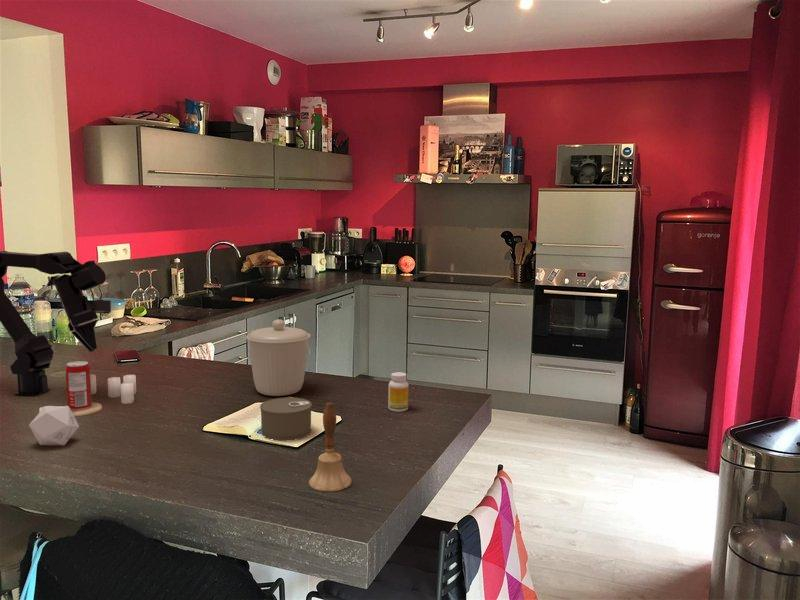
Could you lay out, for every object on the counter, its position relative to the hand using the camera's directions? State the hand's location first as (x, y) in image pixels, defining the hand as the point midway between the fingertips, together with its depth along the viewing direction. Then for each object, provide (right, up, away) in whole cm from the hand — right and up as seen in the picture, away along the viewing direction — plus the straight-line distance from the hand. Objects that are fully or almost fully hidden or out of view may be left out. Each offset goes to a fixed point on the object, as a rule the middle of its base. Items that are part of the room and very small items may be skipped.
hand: (93, 350), depth 177 cm
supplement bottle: (+83, -16, -3) cm, 84 cm away
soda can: (+1, -14, -9) cm, 17 cm away
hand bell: (+70, -22, -50) cm, 88 cm away
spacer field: (+2, -15, -8) cm, 17 cm away
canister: (+48, -13, +11) cm, 51 cm away
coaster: (+1, -15, -9) cm, 17 cm away
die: (+6, -18, -32) cm, 37 cm away
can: (+56, -18, -22) cm, 63 cm away
